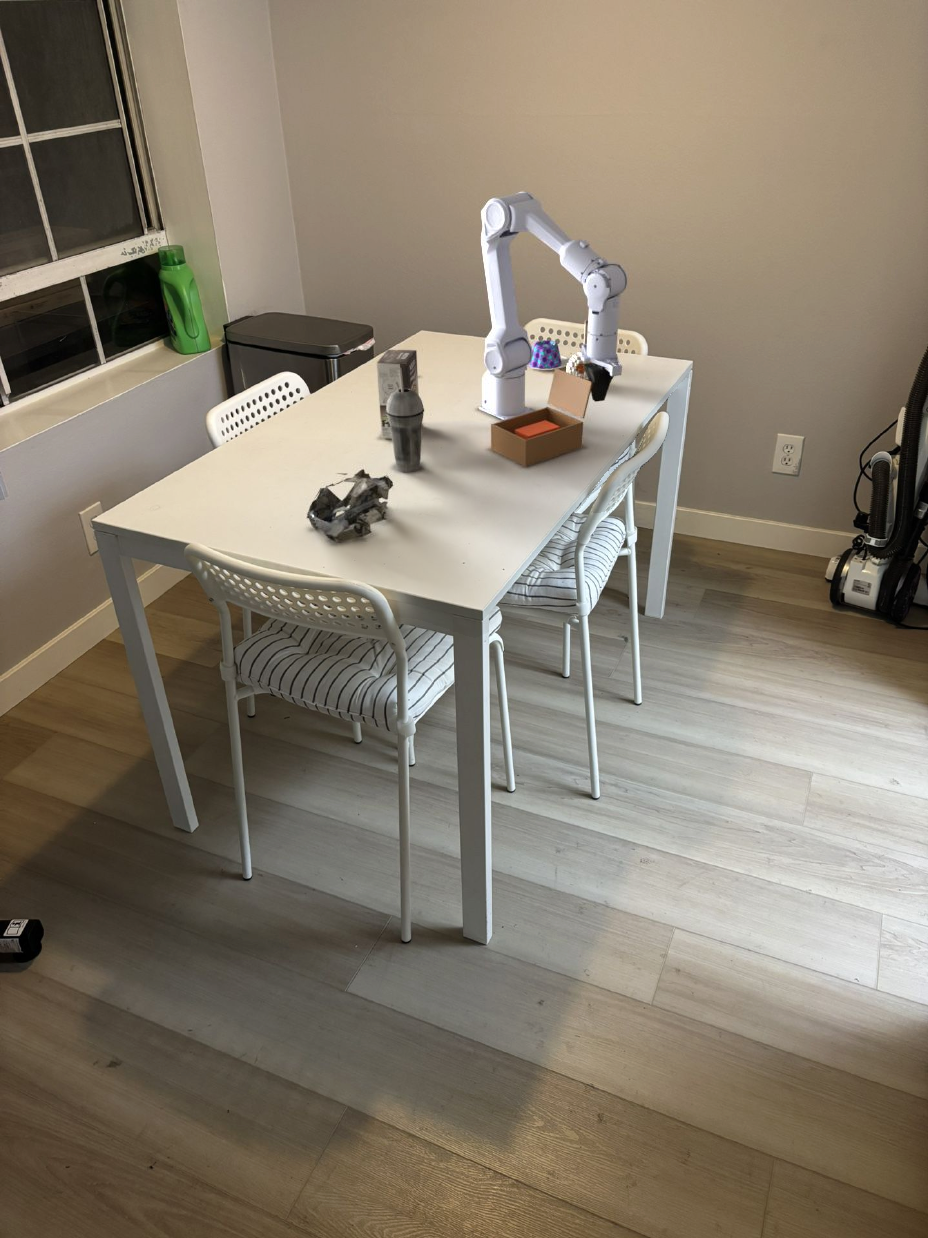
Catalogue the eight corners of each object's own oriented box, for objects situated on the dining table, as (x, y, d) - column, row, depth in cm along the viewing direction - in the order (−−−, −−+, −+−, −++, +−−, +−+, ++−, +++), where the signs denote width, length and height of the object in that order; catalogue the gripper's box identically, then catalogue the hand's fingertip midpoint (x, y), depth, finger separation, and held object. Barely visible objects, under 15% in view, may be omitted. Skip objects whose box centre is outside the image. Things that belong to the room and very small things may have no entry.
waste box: (546, 431, 199) (547, 406, 196) (582, 447, 191) (583, 421, 188) (491, 449, 192) (490, 424, 189) (525, 466, 184) (525, 440, 181)
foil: (298, 497, 167) (365, 447, 165) (336, 541, 173) (402, 493, 170) (298, 525, 157) (370, 472, 155) (339, 570, 163) (410, 520, 160)
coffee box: (411, 440, 196) (406, 363, 187) (380, 438, 197) (375, 362, 189) (421, 423, 204) (417, 349, 195) (392, 422, 205) (387, 347, 196)
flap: (547, 403, 195) (548, 403, 196) (582, 418, 188) (584, 418, 188) (555, 368, 192) (556, 368, 193) (591, 381, 185) (593, 382, 185)
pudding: (576, 370, 230) (577, 348, 228) (528, 374, 228) (528, 352, 226) (561, 354, 240) (562, 334, 237) (515, 359, 238) (515, 338, 235)
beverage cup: (432, 461, 187) (428, 361, 176) (418, 476, 181) (413, 374, 170) (398, 457, 189) (391, 358, 178) (383, 472, 184) (376, 370, 172)
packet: (514, 448, 191) (514, 429, 189) (544, 438, 195) (545, 419, 192) (528, 455, 188) (528, 436, 186) (559, 445, 192) (559, 426, 189)
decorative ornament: (572, 392, 217) (575, 326, 209) (562, 381, 224) (564, 317, 216) (604, 389, 219) (608, 323, 211) (593, 378, 225) (597, 314, 217)
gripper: (568, 323, 188) (565, 390, 195) (599, 345, 176) (595, 415, 183) (601, 319, 189) (597, 386, 197) (633, 340, 178) (628, 410, 185)
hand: (598, 399), depth 190 cm, fingers closed
